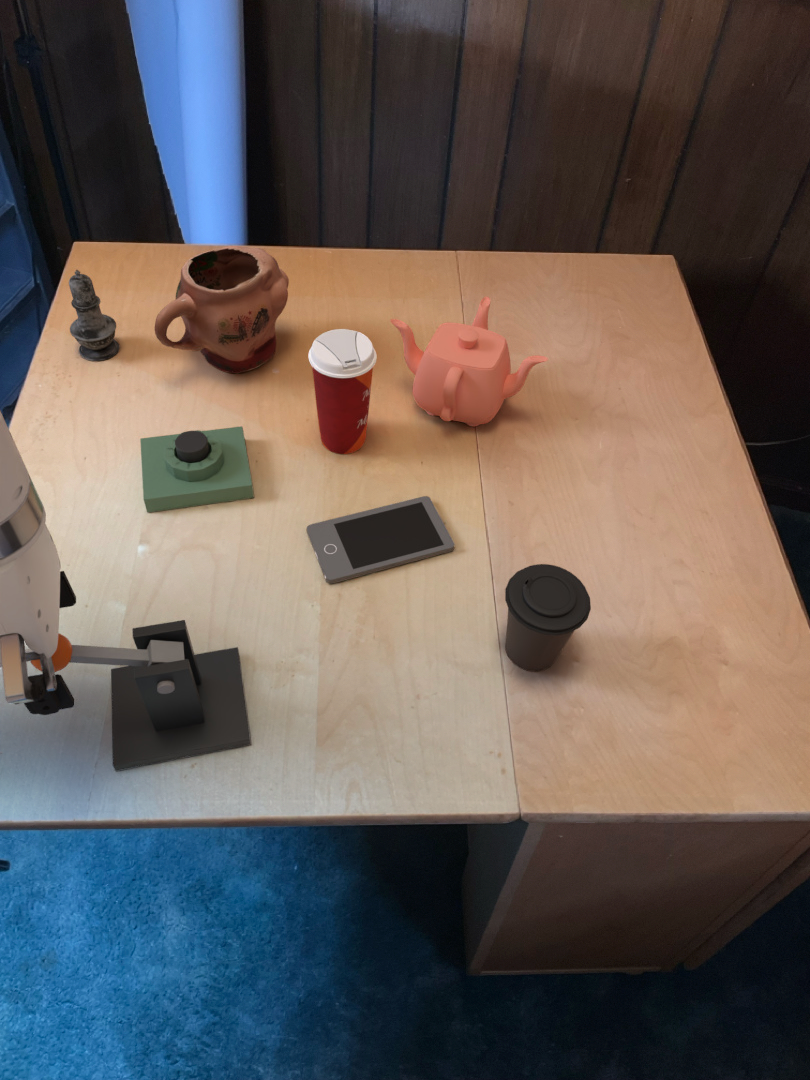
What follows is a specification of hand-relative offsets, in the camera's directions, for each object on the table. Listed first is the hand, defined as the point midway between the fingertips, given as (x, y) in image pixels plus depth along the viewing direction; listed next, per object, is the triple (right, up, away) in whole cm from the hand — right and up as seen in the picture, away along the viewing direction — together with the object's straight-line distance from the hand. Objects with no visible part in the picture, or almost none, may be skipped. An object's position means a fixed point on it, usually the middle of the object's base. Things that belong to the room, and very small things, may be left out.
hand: (55, 654), depth 65 cm
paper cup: (+20, +22, +36) cm, 47 cm away
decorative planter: (+4, +34, +45) cm, 56 cm away
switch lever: (+3, -1, +3) cm, 4 cm away
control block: (+4, +17, +31) cm, 35 cm away
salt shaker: (-13, +35, +44) cm, 58 cm away
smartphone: (+25, +9, +26) cm, 37 cm away
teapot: (+36, +28, +42) cm, 62 cm away
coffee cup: (+41, -2, +18) cm, 45 cm away
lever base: (+7, -7, +11) cm, 15 cm away
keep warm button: (+4, +19, +28) cm, 34 cm away
